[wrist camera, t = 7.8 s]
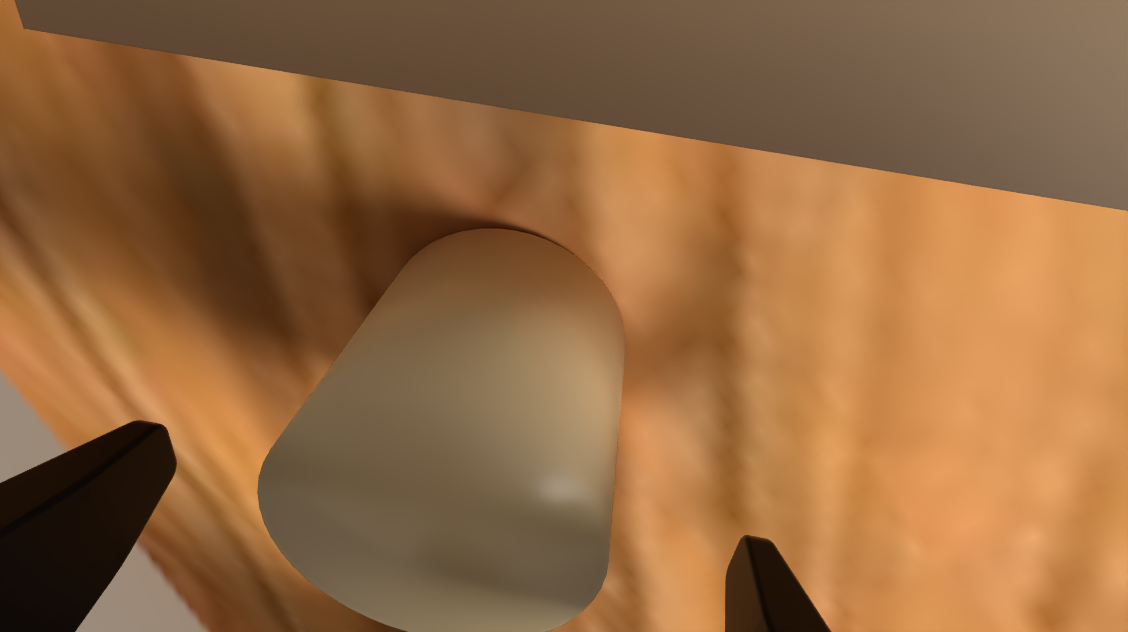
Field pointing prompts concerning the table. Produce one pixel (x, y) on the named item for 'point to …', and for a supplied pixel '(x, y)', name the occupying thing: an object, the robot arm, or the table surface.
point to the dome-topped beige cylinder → (461, 444)
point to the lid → (715, 71)
